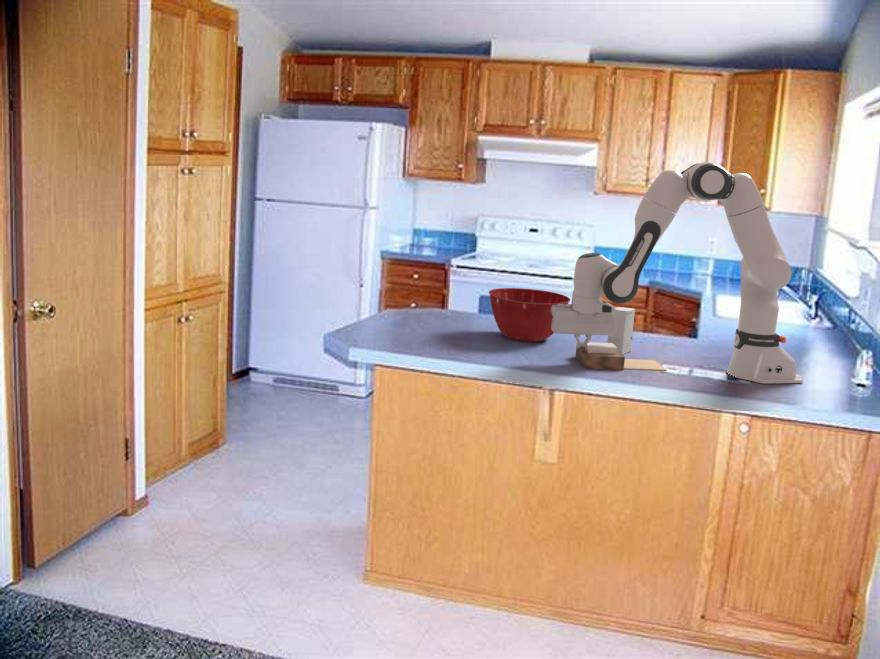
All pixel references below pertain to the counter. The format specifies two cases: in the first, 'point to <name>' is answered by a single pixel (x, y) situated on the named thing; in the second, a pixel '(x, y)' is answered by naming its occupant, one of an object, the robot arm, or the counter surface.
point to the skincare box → (623, 329)
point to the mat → (642, 364)
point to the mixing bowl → (525, 312)
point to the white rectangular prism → (601, 348)
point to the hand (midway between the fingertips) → (581, 348)
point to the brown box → (600, 359)
